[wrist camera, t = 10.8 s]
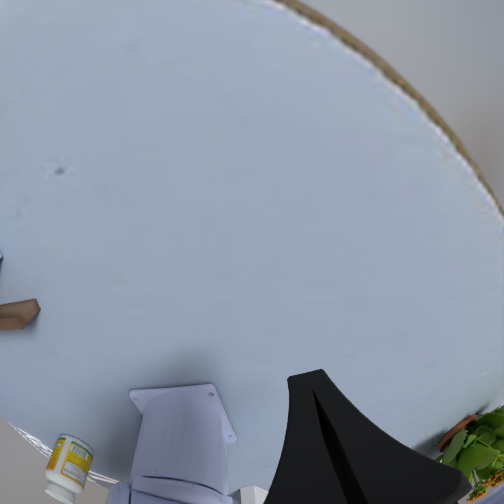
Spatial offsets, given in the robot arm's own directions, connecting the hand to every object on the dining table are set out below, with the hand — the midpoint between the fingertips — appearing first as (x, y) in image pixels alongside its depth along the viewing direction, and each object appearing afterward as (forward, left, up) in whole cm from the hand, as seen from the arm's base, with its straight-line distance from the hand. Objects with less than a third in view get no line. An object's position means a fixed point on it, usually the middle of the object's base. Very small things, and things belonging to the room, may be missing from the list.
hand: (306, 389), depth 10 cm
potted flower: (-40, -30, -10) cm, 51 cm away
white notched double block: (-38, +6, -10) cm, 40 cm away
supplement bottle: (-20, +29, -10) cm, 37 cm away
